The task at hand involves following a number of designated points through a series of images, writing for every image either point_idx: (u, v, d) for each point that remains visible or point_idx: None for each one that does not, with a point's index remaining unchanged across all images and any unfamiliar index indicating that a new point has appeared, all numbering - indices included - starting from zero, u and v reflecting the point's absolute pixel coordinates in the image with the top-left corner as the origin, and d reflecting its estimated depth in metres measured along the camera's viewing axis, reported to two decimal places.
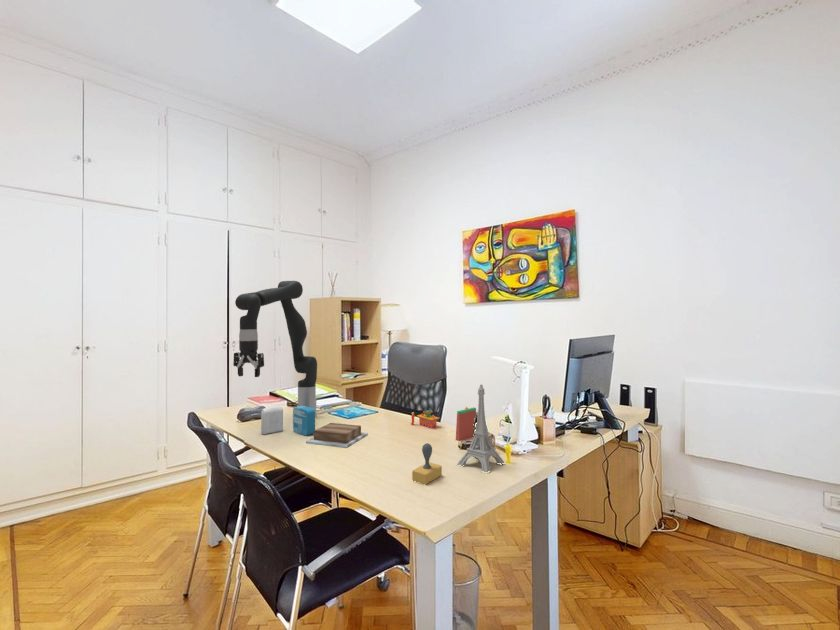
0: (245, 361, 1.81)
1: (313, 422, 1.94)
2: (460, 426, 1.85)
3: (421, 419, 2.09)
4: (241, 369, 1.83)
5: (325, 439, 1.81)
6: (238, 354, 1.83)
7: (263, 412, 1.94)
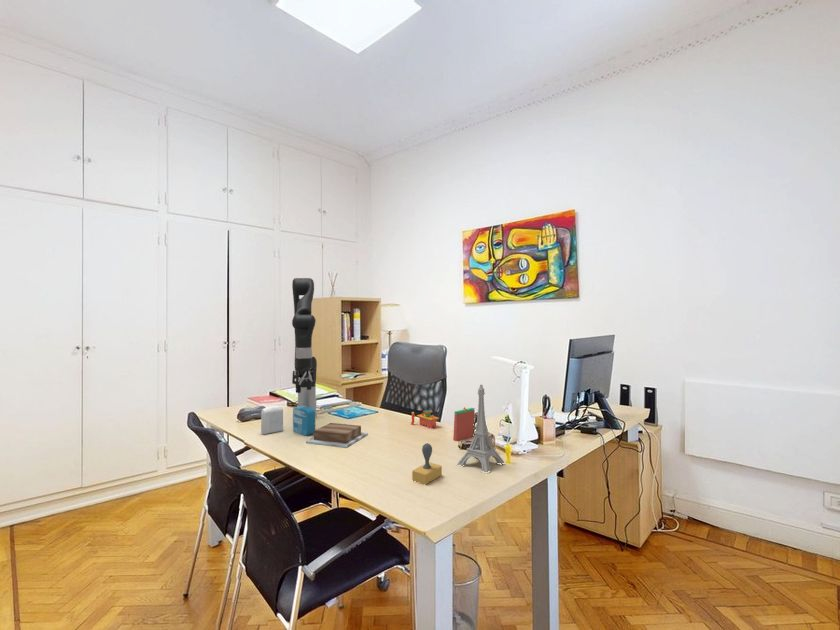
0: (304, 377, 1.96)
1: (313, 422, 1.94)
2: (457, 426, 1.85)
3: (421, 419, 2.10)
4: None
5: (325, 439, 1.81)
6: None
7: (263, 412, 1.94)
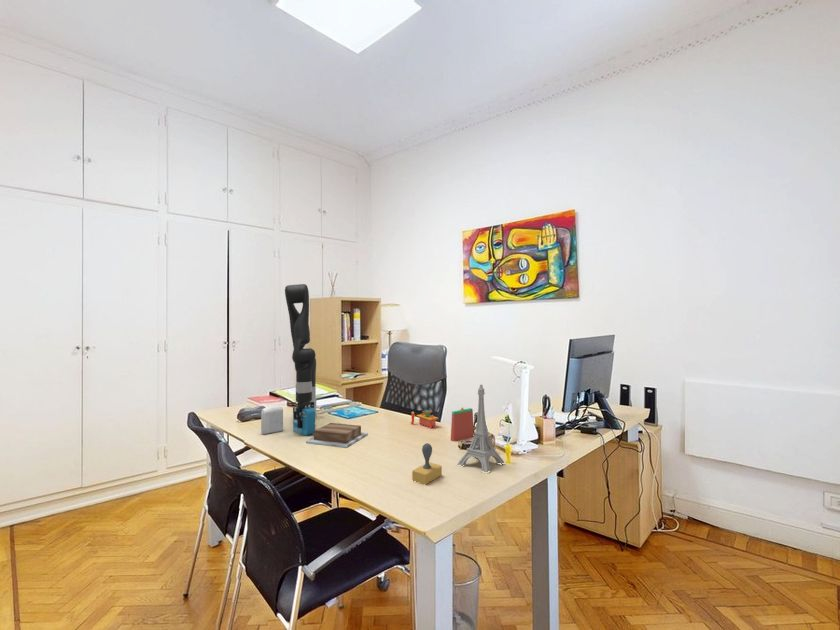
0: None
1: (313, 422, 1.94)
2: (455, 426, 1.84)
3: (421, 419, 2.10)
4: None
5: (325, 439, 1.81)
6: None
7: (263, 412, 1.94)
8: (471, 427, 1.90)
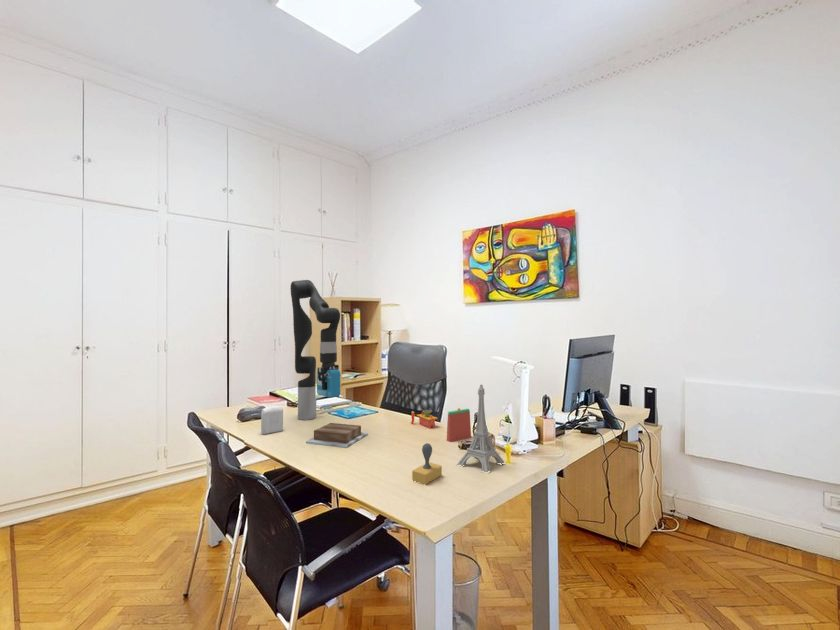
0: None
1: (338, 384, 1.85)
2: (451, 427, 1.84)
3: (420, 418, 2.10)
4: None
5: (325, 439, 1.81)
6: None
7: (263, 412, 1.94)
8: (468, 428, 1.89)
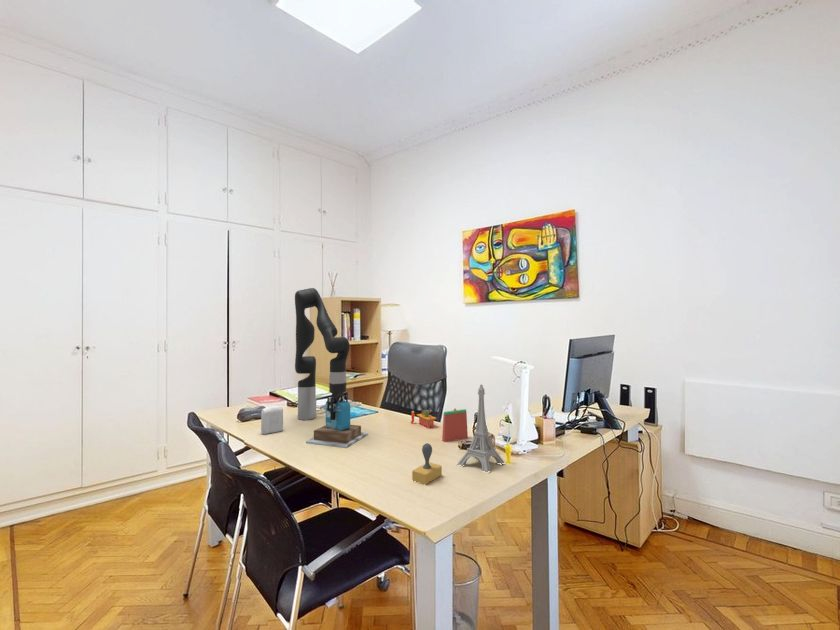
0: None
1: (348, 416, 1.84)
2: (446, 427, 1.83)
3: (420, 418, 2.11)
4: None
5: (325, 439, 1.81)
6: None
7: (263, 412, 1.94)
8: (464, 428, 1.88)
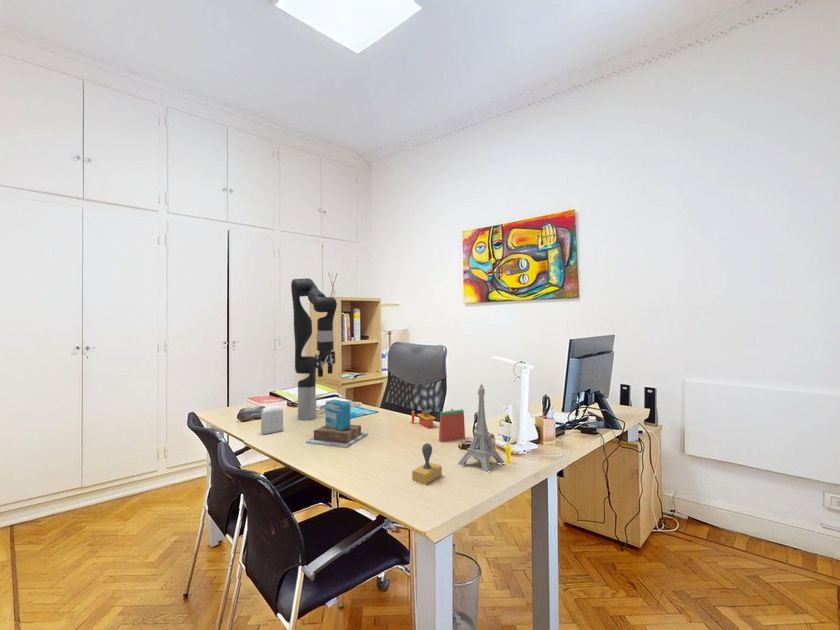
0: (326, 361, 1.91)
1: (348, 416, 1.84)
2: (443, 427, 1.83)
3: (420, 418, 2.11)
4: None
5: (325, 439, 1.81)
6: None
7: (263, 412, 1.94)
8: (462, 429, 1.87)
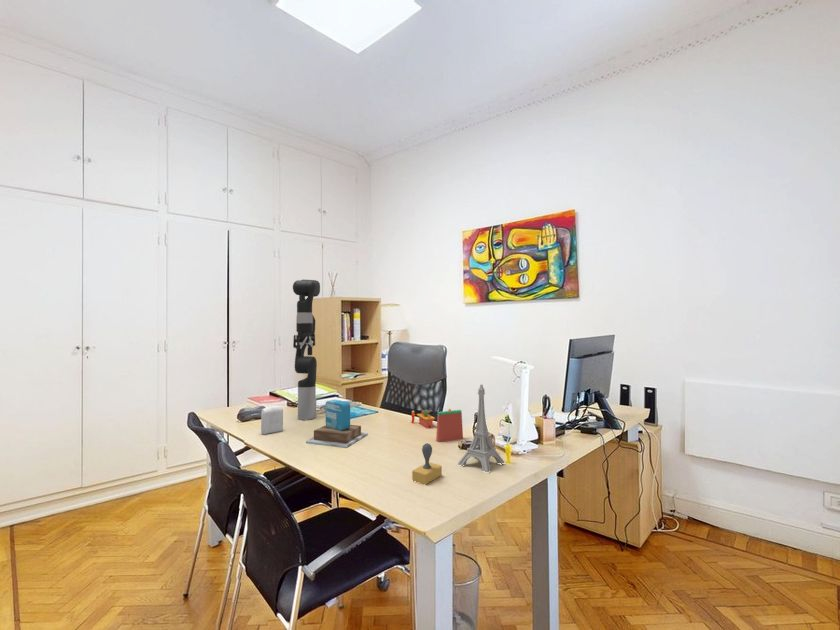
0: (305, 342, 1.98)
1: (348, 416, 1.84)
2: (440, 427, 1.83)
3: (420, 418, 2.12)
4: None
5: (325, 439, 1.81)
6: None
7: (263, 412, 1.94)
8: (460, 429, 1.87)
